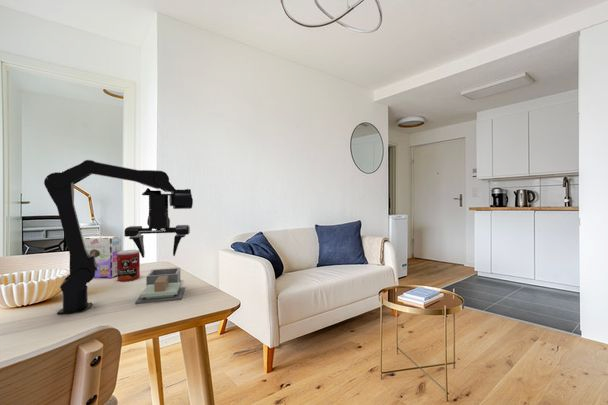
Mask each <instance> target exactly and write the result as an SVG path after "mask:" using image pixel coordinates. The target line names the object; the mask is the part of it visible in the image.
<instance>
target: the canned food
mask: <svg viewBox="0 0 608 405" xmlns="http://www.w3.org/2000/svg"><path fill="white" fill-rule="evenodd" d="M140 255H141V254H140V251H139V249H127V250H121V251H119V252H117V276H116V277H117V281H118V282H132V281H136V280H138V279H139V278H140V274H141V273H140V272H141V270H140V259H141V258H140Z"/></svg>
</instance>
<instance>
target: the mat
mask: <svg viewBox="0 0 608 405" xmlns="http://www.w3.org/2000/svg"><path fill="white" fill-rule="evenodd" d="M185 287H186V286H180V288H179V291H178V293H177V294H175V295H174V296H173V297H163V298H152V299H146V297H142V298H141V297H140V295H139V296H138V298H137V299H136V301H135V302H134V304H135V305H141V304H151V303H162V302H172V301H182V298H183V296H184V292H185V289H186V288H185Z"/></svg>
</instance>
